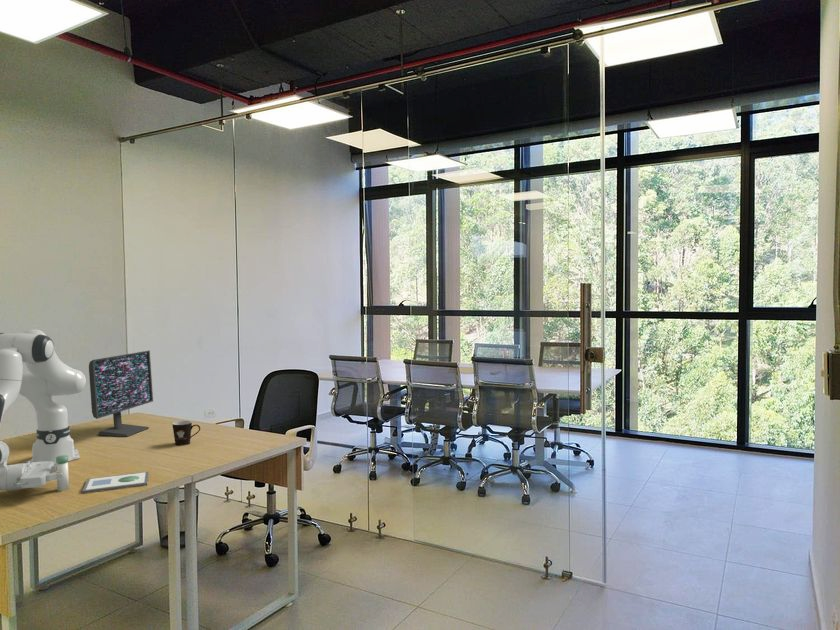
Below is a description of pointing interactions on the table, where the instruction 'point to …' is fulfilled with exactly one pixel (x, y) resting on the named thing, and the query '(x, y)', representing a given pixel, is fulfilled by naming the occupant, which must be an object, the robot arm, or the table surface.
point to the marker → (62, 468)
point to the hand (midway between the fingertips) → (64, 471)
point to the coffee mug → (183, 432)
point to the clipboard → (115, 482)
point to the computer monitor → (120, 389)
